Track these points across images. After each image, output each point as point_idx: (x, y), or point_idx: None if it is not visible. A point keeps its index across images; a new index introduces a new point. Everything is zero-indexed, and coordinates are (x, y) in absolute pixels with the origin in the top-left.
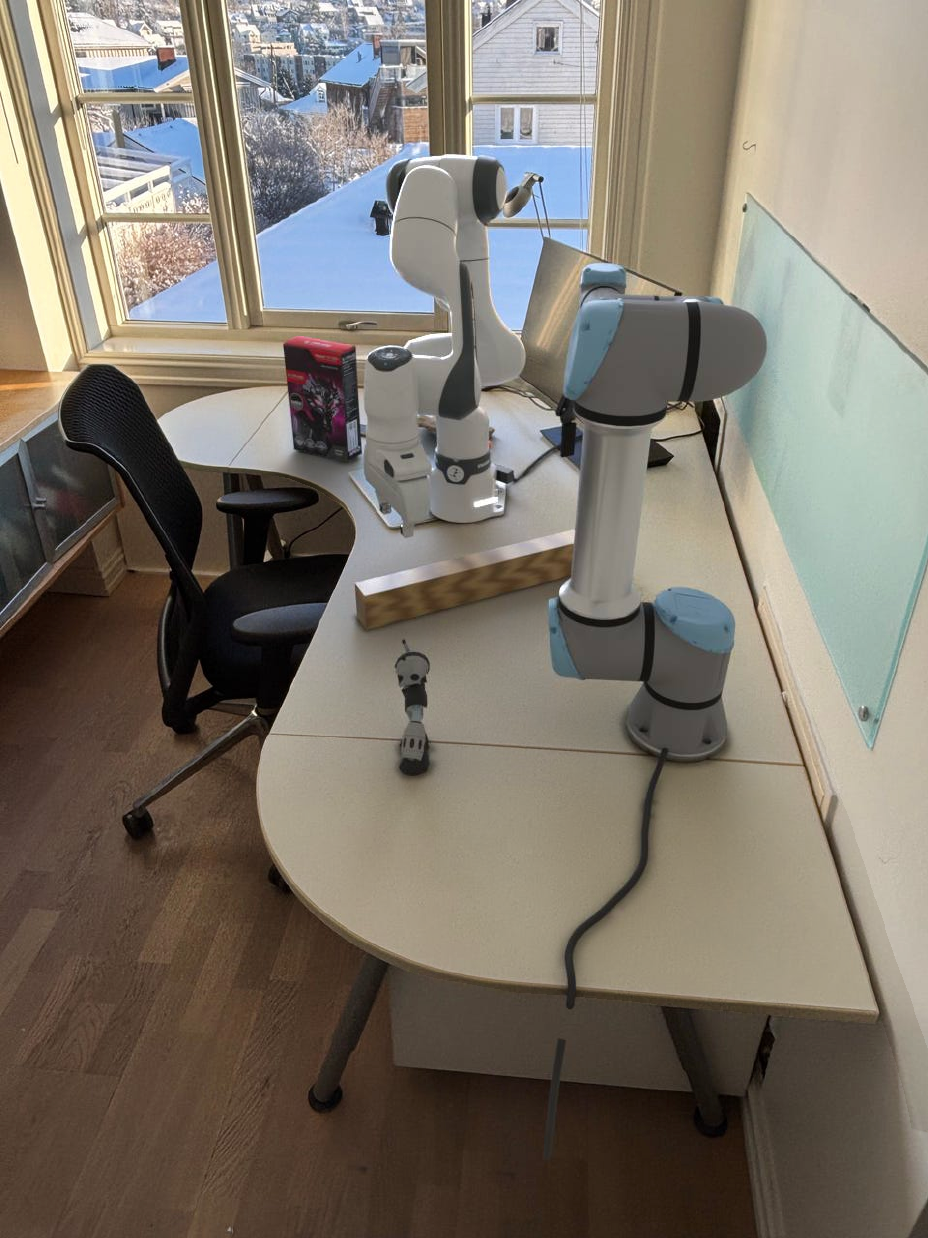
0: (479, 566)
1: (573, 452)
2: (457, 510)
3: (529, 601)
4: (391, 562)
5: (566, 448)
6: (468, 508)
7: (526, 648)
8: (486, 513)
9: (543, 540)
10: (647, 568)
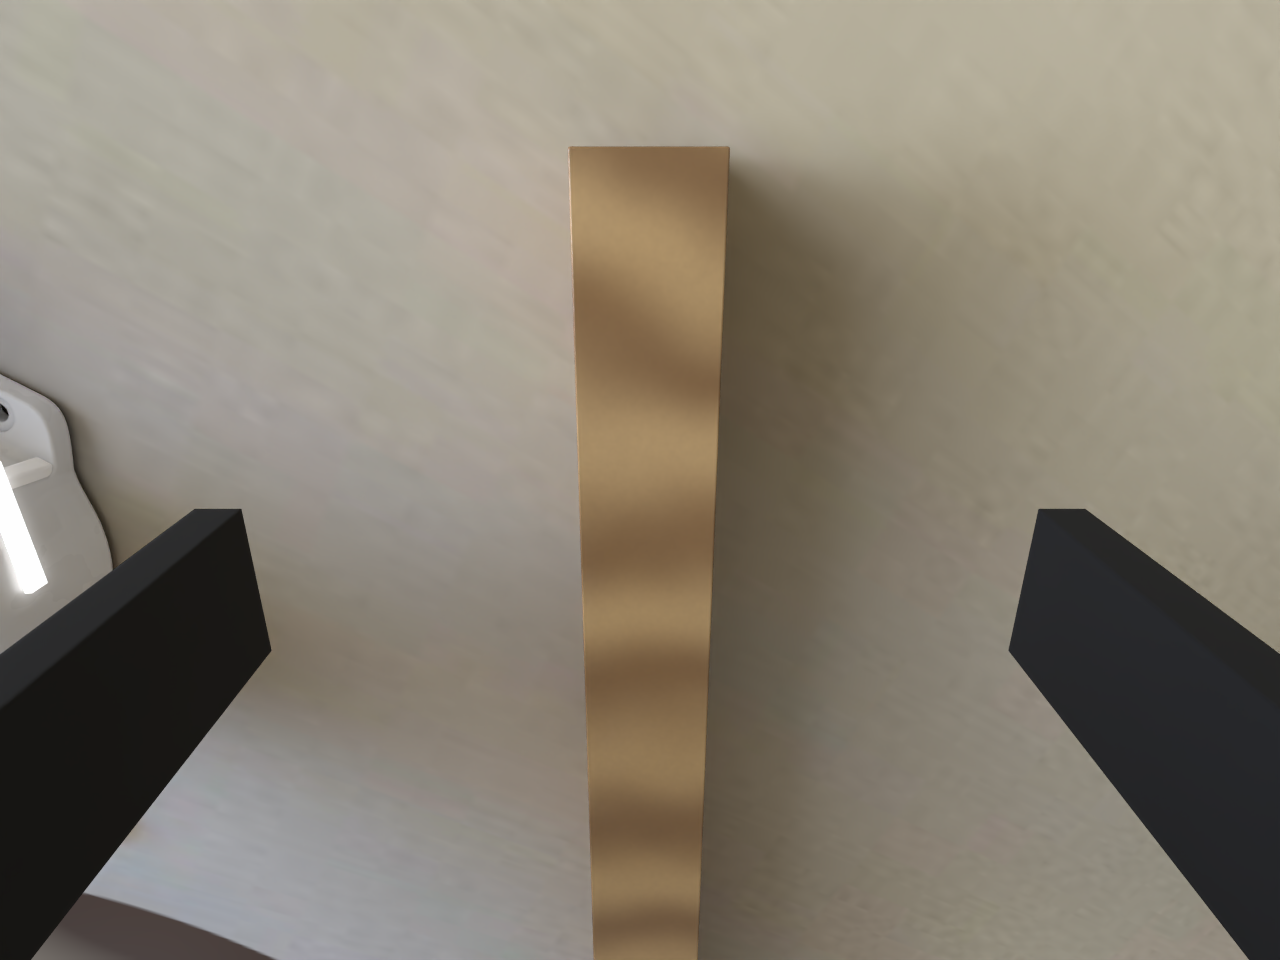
0: (696, 894)
1: (228, 537)
2: None
3: (786, 645)
4: (342, 900)
5: (208, 668)
6: (51, 608)
7: (1016, 774)
8: (65, 503)
9: (618, 587)
10: (833, 12)
